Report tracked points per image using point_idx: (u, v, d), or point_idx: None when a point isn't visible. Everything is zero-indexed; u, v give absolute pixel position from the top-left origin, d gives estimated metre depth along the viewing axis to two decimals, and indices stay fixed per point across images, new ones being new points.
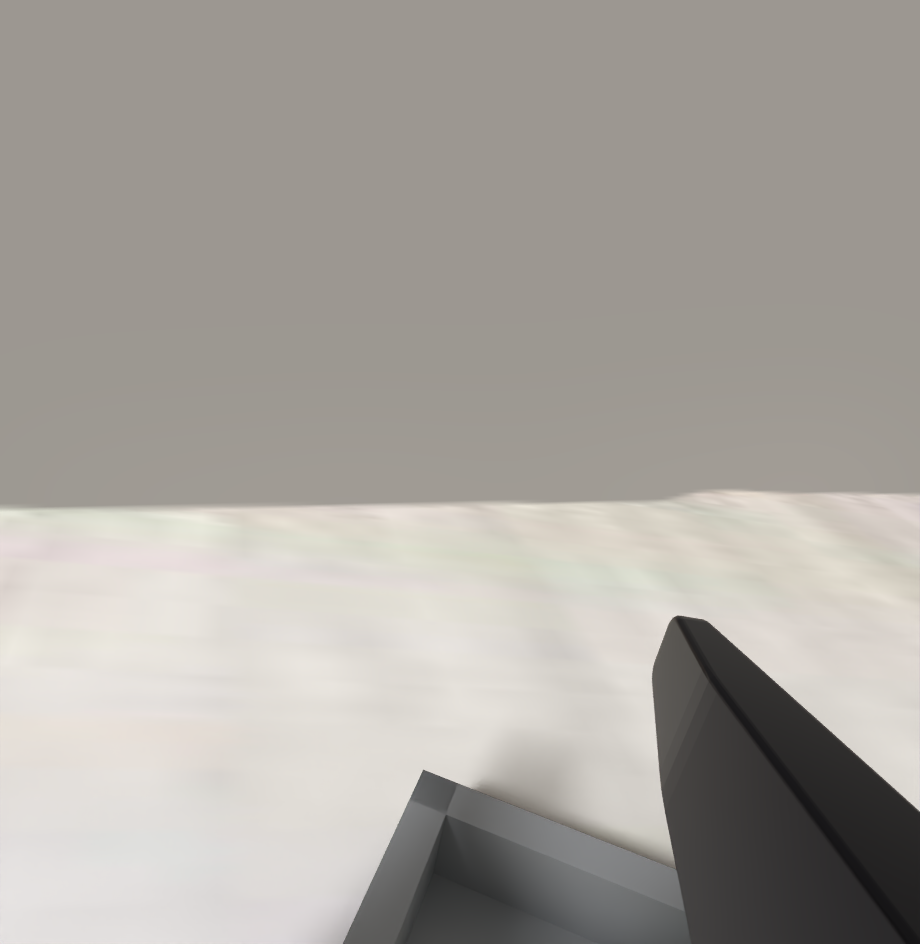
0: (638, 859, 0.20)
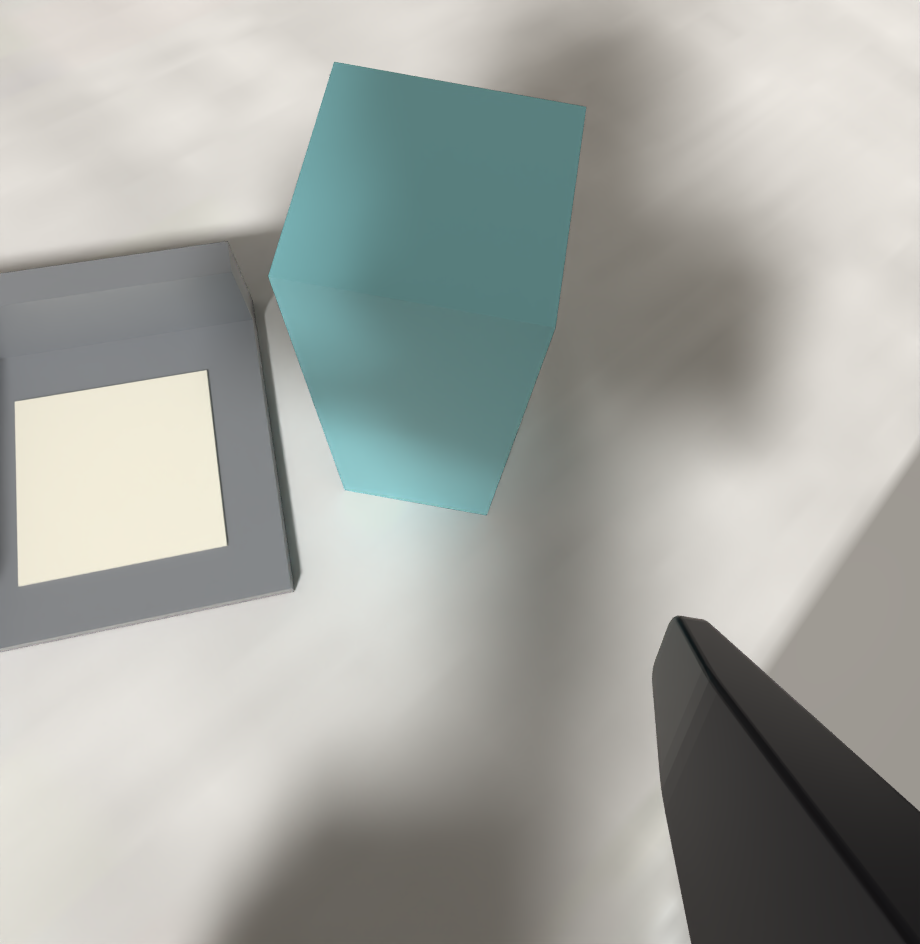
0: (96, 263, 0.22)
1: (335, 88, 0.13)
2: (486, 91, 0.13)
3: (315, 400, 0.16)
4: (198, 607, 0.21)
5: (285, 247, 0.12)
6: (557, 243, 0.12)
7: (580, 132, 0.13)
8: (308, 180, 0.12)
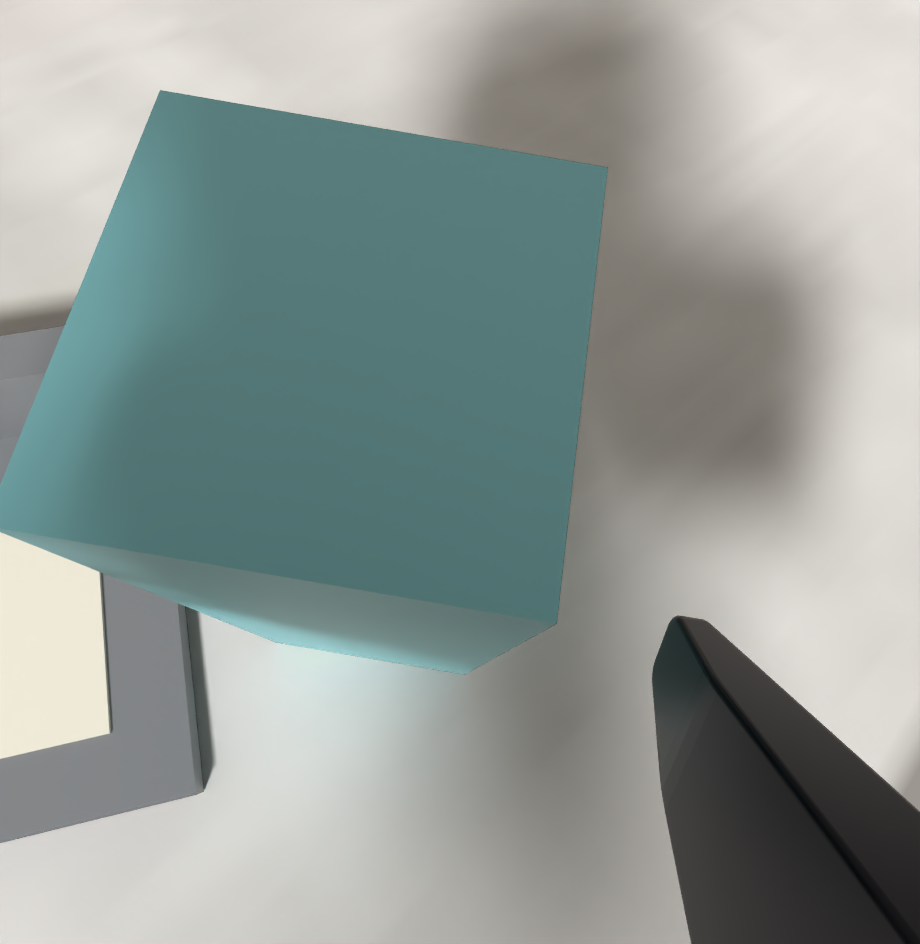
0: None
1: (157, 139, 0.07)
2: (430, 142, 0.07)
3: (185, 604, 0.11)
4: (66, 826, 0.15)
5: (25, 458, 0.06)
6: (558, 438, 0.06)
7: (598, 215, 0.07)
8: (88, 317, 0.06)
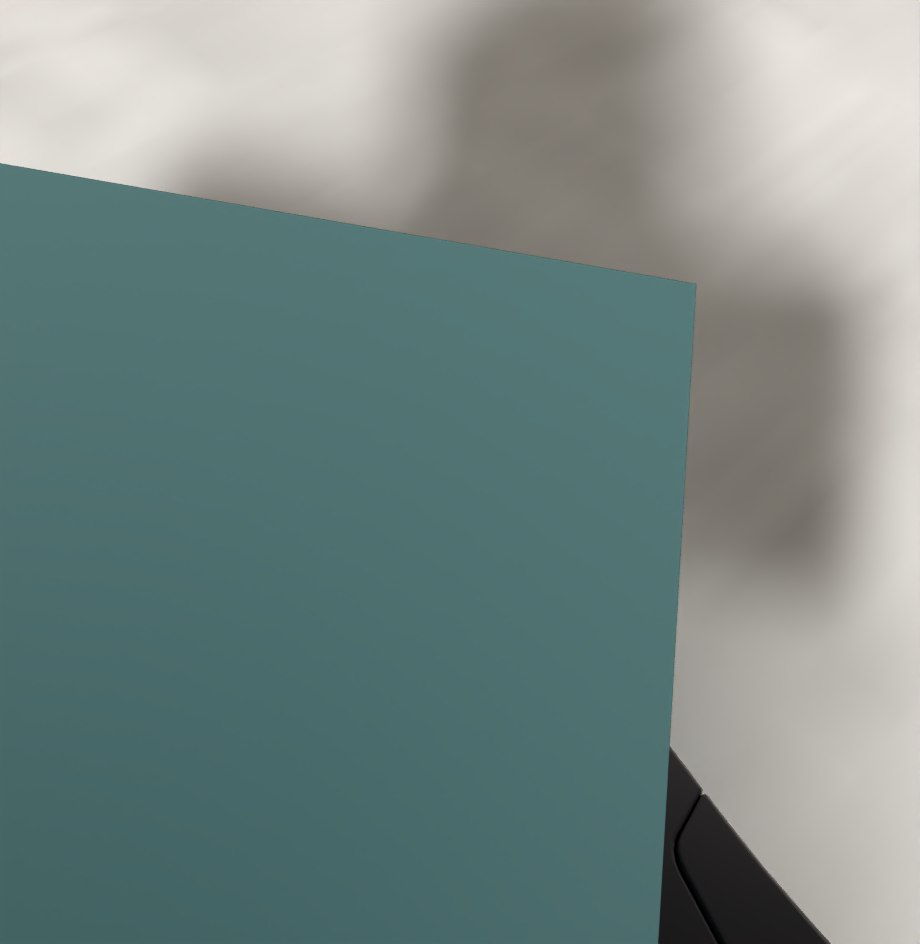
0: None
1: None
2: (325, 232, 0.04)
3: None
4: None
5: None
6: None
7: (682, 399, 0.03)
8: None
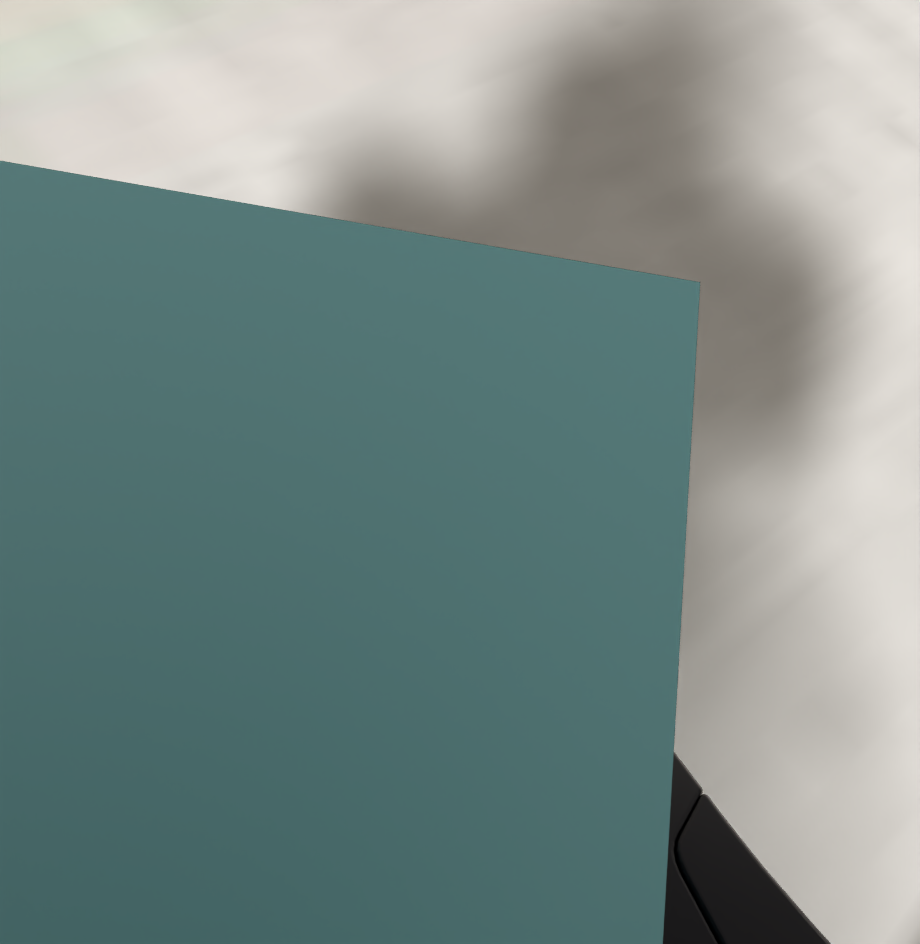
0: None
1: None
2: (329, 230, 0.04)
3: None
4: None
5: None
6: None
7: (686, 397, 0.03)
8: None
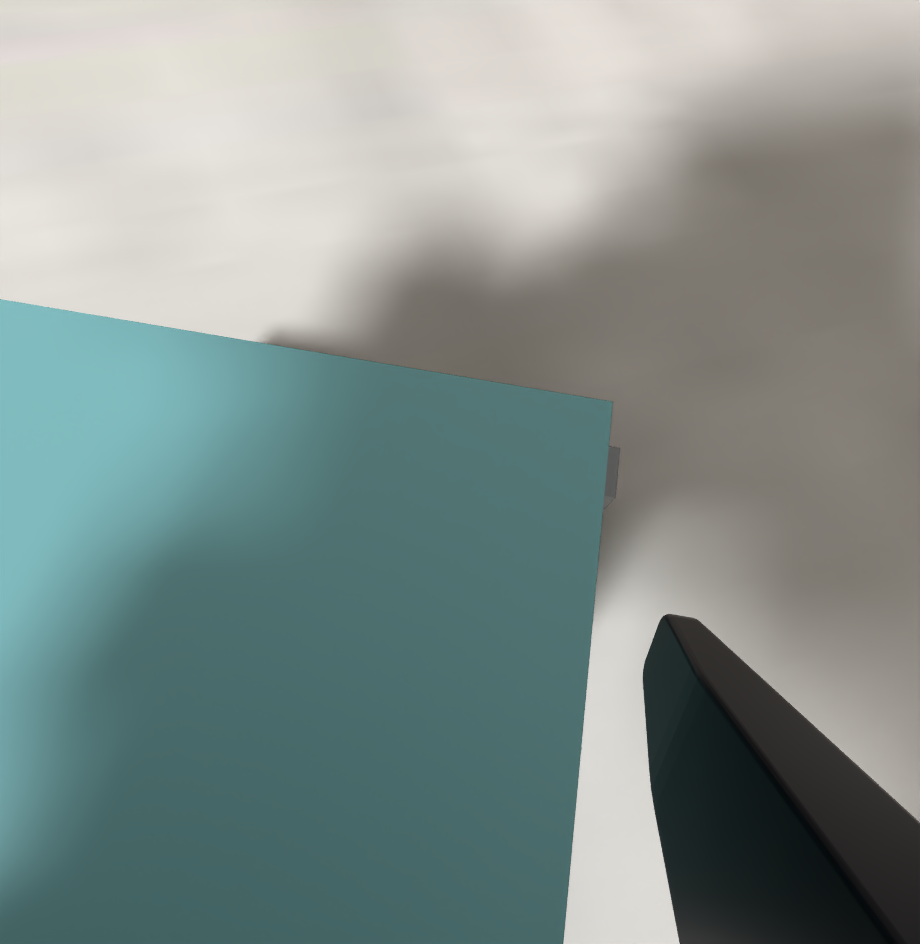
0: None
1: None
2: (350, 367, 0.05)
3: None
4: None
5: None
6: (536, 902, 0.04)
7: (599, 488, 0.05)
8: None
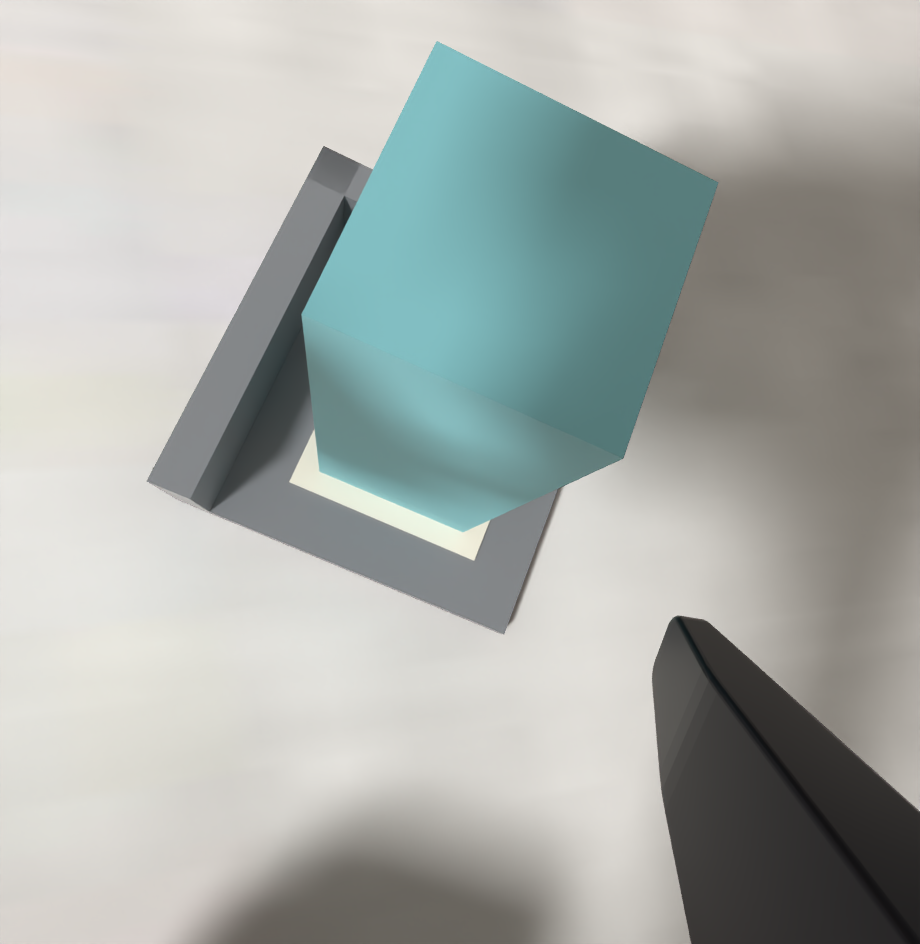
0: None
1: (431, 79, 0.10)
2: (609, 132, 0.11)
3: (315, 411, 0.14)
4: (421, 599, 0.21)
5: (329, 279, 0.09)
6: (647, 352, 0.10)
7: (704, 215, 0.11)
8: (374, 196, 0.10)
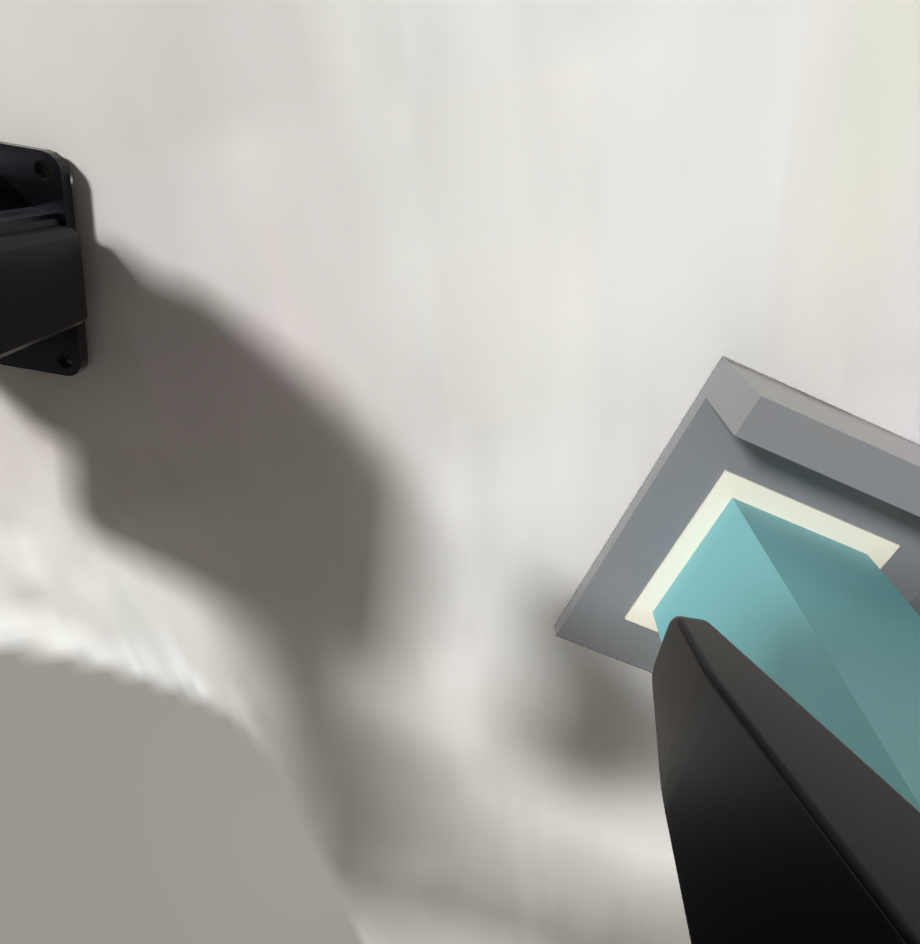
0: None
1: None
2: None
3: (828, 661, 0.15)
4: (593, 575, 0.23)
5: None
6: None
7: None
8: None
